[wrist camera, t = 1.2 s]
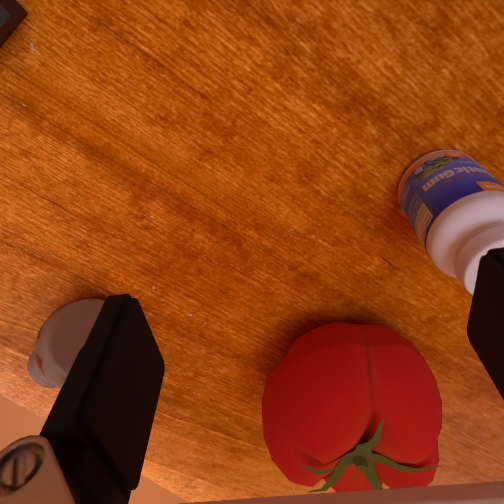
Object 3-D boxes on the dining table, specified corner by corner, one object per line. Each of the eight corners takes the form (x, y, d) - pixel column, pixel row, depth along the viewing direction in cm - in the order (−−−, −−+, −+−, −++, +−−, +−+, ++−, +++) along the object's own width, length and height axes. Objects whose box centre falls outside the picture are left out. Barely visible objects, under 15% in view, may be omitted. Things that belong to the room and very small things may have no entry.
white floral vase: (17, 339, 37) (-37, 385, 27) (103, 270, 38) (80, 292, 28) (75, 396, 38) (43, 459, 29) (155, 328, 39) (151, 368, 29)
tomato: (239, 376, 39) (234, 507, 29) (316, 270, 32) (342, 398, 22) (355, 413, 42) (384, 543, 32) (448, 324, 35) (522, 458, 25)
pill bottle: (480, 139, 26) (582, 212, 18) (473, 212, 29) (557, 303, 21) (394, 156, 27) (454, 233, 18) (395, 226, 29) (447, 318, 21)
